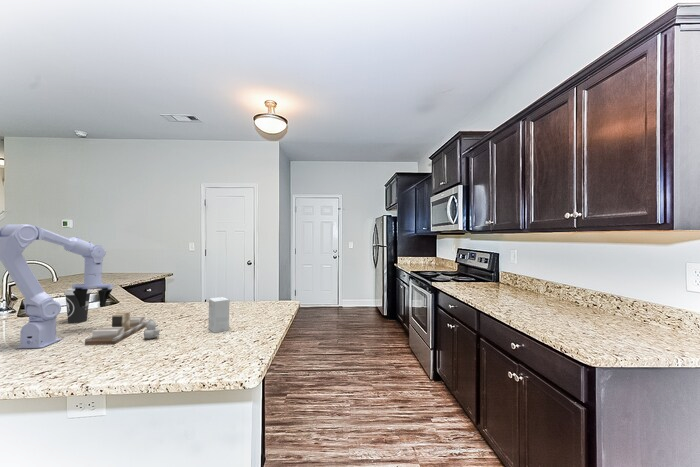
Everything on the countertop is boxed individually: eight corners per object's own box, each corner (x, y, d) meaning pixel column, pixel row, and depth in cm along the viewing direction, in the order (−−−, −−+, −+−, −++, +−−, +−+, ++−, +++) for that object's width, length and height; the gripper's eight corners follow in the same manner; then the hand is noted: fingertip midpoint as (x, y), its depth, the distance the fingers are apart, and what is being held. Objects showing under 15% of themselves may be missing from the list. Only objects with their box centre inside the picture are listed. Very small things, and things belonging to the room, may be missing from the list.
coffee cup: (78, 324, 141) (79, 290, 141) (57, 324, 141) (58, 290, 141) (96, 319, 150) (97, 286, 150) (76, 318, 150) (77, 286, 150)
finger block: (121, 332, 127) (122, 315, 127) (110, 333, 126) (111, 315, 126) (129, 328, 132) (130, 311, 132) (119, 328, 132) (119, 311, 132)
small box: (229, 330, 136) (229, 299, 136) (213, 333, 132) (214, 301, 132) (223, 326, 142) (223, 296, 142) (207, 328, 138) (208, 298, 138)
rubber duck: (151, 335, 128) (151, 315, 128) (164, 337, 126) (165, 316, 126) (139, 339, 122) (139, 318, 123) (153, 341, 121) (153, 320, 121)
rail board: (114, 344, 117) (115, 332, 117) (84, 344, 116) (85, 333, 116) (150, 324, 143) (150, 314, 143) (125, 324, 142) (126, 315, 142)
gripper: (117, 272, 138) (117, 304, 138) (81, 272, 136) (80, 304, 136) (107, 274, 131) (106, 308, 131) (68, 274, 129) (67, 308, 129)
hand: (92, 306), depth 133 cm, fingers open, 7 cm apart
